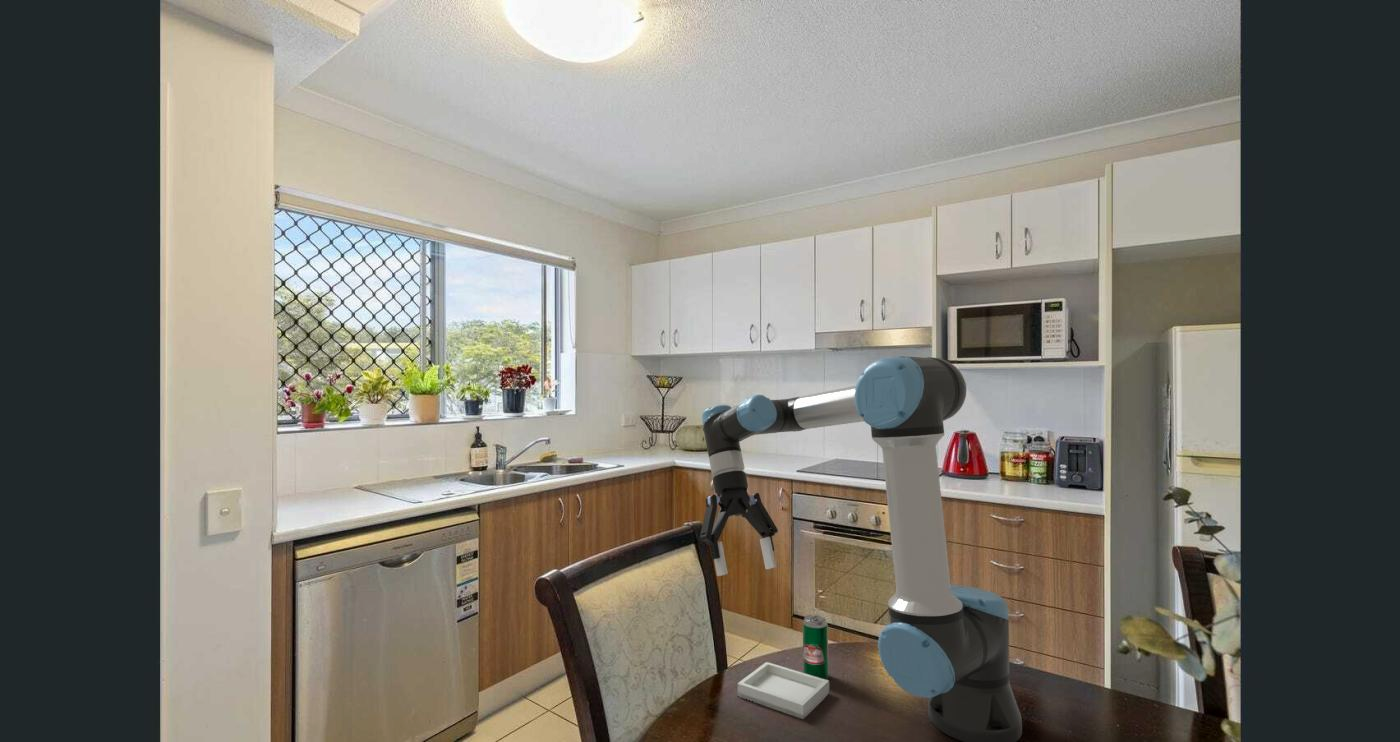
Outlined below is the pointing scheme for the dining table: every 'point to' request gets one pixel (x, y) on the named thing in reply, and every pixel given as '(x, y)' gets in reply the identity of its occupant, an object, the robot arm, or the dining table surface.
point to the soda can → (815, 646)
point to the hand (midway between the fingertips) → (747, 571)
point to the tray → (784, 689)
